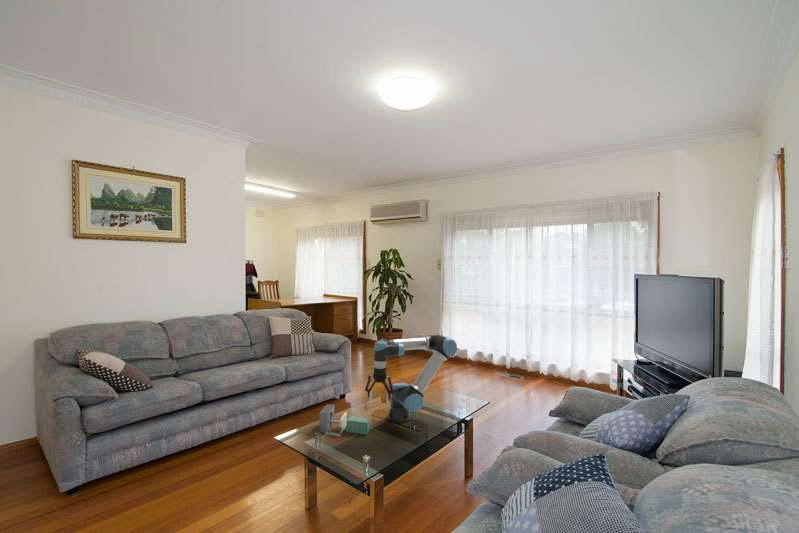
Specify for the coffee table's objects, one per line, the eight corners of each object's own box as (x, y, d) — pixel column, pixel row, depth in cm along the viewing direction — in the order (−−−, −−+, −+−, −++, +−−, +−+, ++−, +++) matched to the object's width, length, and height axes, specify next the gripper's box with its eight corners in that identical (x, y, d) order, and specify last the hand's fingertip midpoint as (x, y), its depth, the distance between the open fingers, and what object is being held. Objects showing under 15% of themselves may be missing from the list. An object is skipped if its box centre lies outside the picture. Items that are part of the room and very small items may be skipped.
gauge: (347, 424, 234) (348, 406, 234) (340, 436, 218) (341, 416, 218) (326, 423, 236) (326, 404, 236) (317, 434, 220) (318, 414, 220)
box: (367, 435, 221) (367, 422, 221) (345, 432, 224) (346, 420, 224) (370, 430, 228) (370, 417, 228) (349, 427, 231) (349, 415, 231)
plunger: (346, 424, 233) (346, 412, 233) (339, 435, 218) (340, 422, 218) (326, 423, 235) (327, 410, 235) (318, 433, 220) (318, 420, 220)
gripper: (399, 366, 228) (398, 402, 227) (363, 364, 230) (362, 399, 230) (397, 369, 220) (396, 407, 220) (360, 367, 223) (359, 404, 223)
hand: (378, 403), depth 225 cm, fingers open, 10 cm apart
